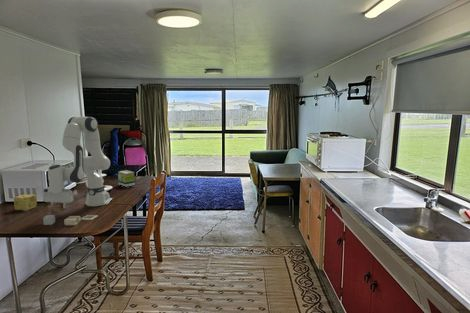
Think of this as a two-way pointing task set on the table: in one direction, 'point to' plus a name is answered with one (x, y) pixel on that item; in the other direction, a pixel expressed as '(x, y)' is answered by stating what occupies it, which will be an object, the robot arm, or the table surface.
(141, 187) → the table surface
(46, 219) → the grey cube
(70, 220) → the oak base block
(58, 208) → the walnut cube
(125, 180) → the tea box
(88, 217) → the swatch
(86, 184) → the candlestick
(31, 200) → the cheese
